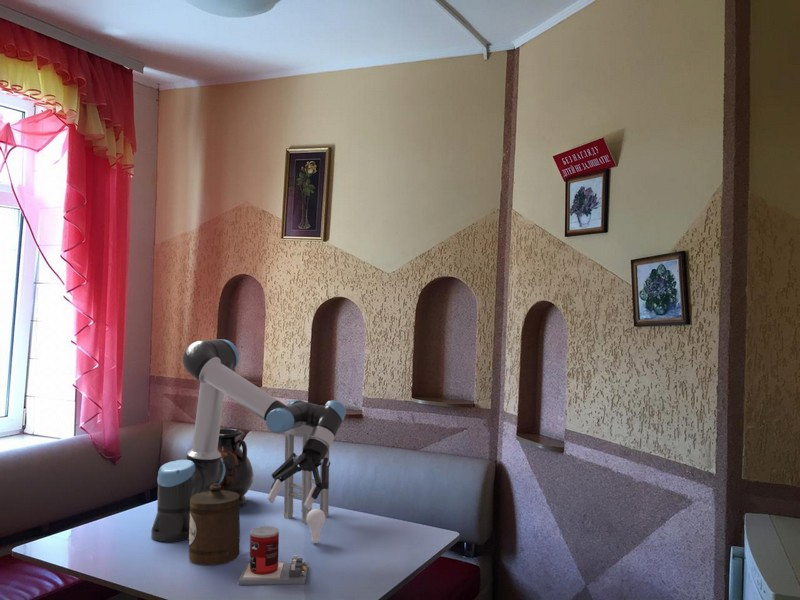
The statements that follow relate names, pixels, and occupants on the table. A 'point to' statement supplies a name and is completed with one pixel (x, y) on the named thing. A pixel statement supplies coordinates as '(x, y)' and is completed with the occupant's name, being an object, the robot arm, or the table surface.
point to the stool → (306, 478)
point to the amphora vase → (235, 464)
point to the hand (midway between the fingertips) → (287, 504)
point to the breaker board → (277, 574)
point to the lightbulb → (315, 523)
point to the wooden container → (214, 527)
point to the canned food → (264, 550)
